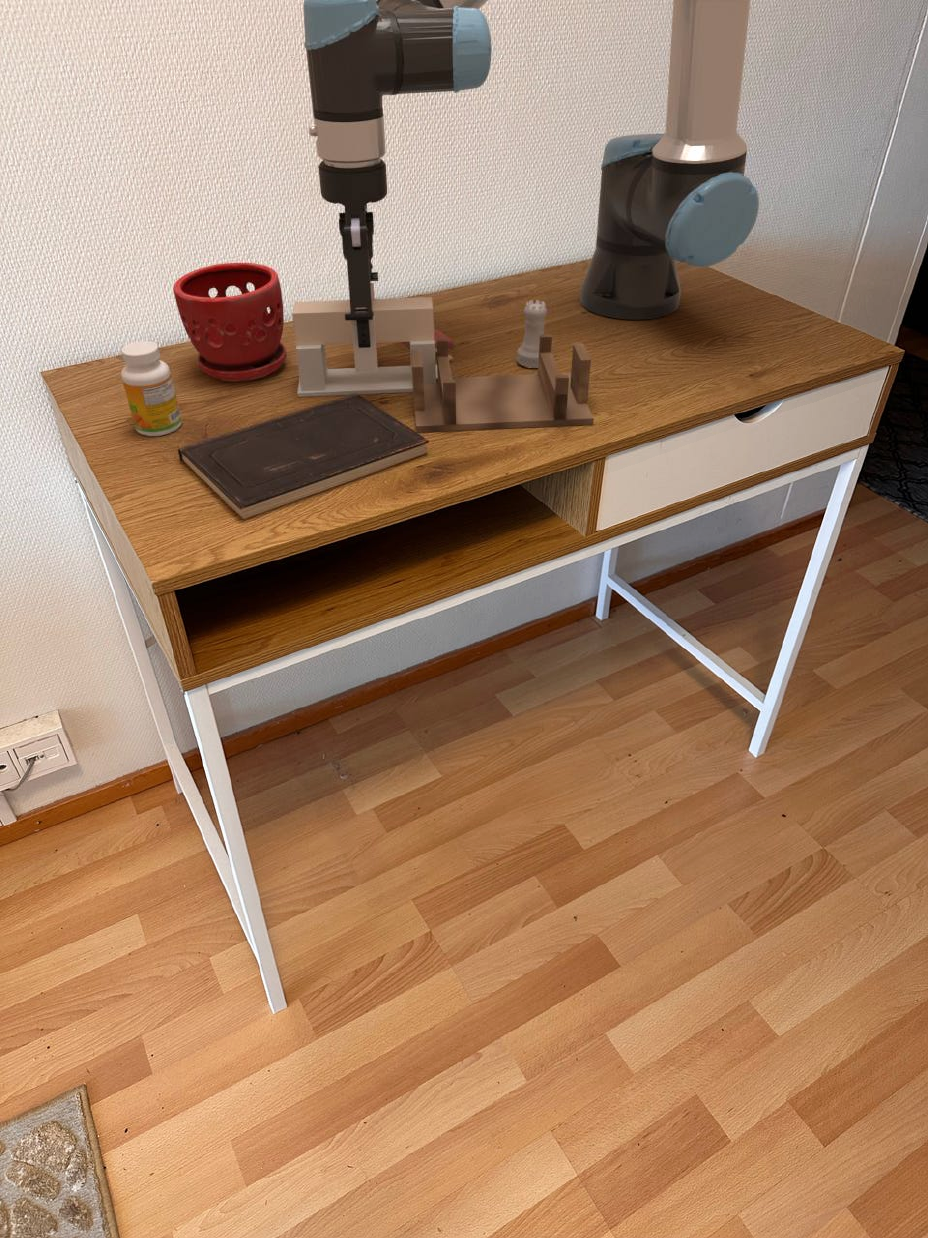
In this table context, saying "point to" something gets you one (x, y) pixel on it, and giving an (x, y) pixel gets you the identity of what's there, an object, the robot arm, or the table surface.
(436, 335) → the popsicle
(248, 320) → the plant pot
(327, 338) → the beige rectangular bar
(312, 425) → the hardcover book
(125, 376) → the supplement bottle
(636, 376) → the table surface
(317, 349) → the stand
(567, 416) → the rack
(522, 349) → the rook chess piece
